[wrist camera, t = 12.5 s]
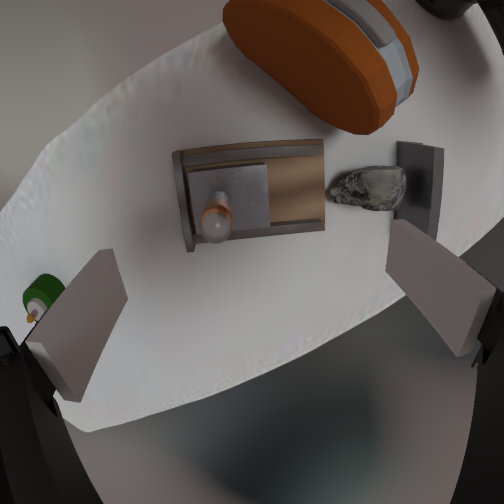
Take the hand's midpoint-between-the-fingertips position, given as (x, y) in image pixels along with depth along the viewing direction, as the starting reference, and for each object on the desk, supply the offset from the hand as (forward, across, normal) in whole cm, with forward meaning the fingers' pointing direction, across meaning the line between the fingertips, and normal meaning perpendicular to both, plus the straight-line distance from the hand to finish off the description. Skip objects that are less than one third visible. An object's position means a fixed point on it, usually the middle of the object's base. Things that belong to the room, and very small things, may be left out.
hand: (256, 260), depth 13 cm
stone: (+31, +19, -4) cm, 37 cm away
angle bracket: (+31, +28, -4) cm, 42 cm away
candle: (+29, -39, -17) cm, 52 cm away
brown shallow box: (+30, +2, -4) cm, 31 cm away
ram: (+29, -2, -4) cm, 29 cm away
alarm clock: (+31, +10, +15) cm, 36 cm away
